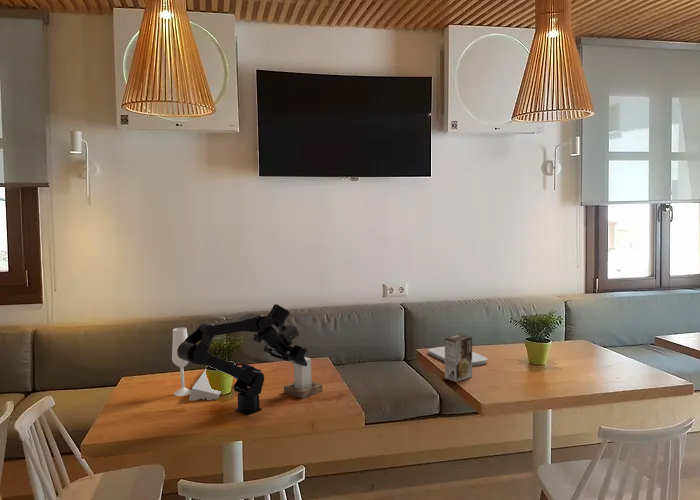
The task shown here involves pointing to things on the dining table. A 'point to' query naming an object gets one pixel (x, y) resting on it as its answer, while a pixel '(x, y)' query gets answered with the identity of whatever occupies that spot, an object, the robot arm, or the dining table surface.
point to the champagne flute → (179, 338)
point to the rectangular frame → (303, 393)
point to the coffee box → (458, 357)
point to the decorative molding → (203, 389)
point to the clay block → (303, 375)
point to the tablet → (440, 354)
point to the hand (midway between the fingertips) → (298, 362)
